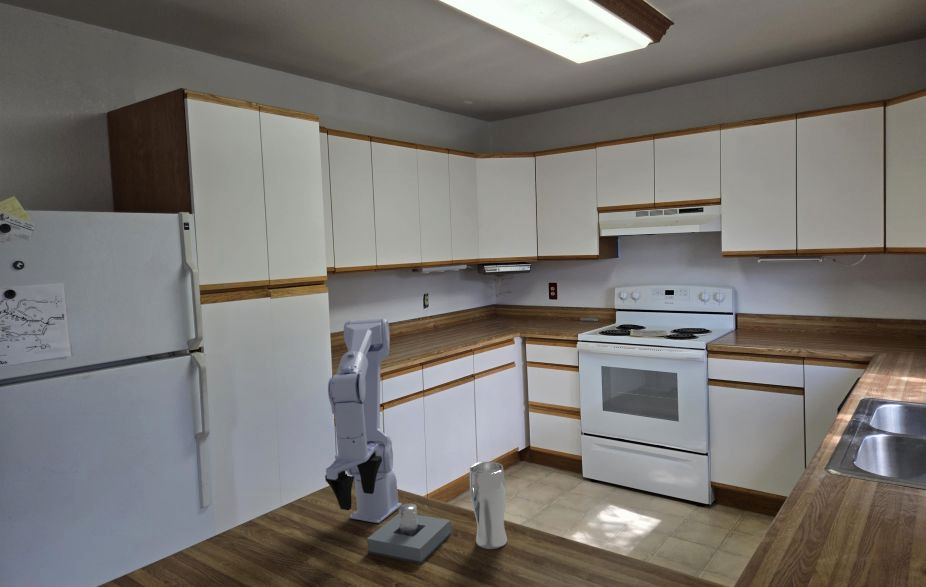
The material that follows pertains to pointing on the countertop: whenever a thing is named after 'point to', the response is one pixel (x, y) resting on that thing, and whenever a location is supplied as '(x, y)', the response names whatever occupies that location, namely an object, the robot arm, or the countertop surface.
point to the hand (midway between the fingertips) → (357, 500)
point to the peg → (408, 519)
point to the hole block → (409, 539)
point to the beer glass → (488, 503)
